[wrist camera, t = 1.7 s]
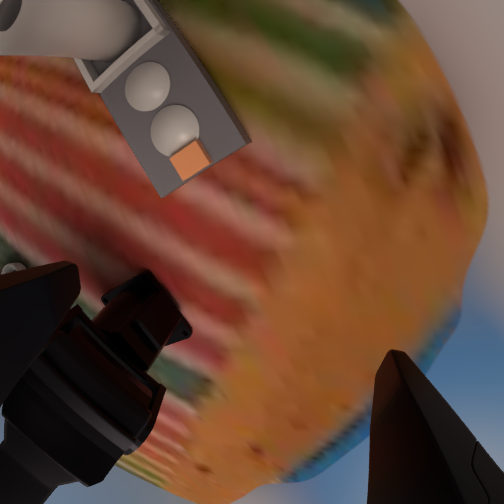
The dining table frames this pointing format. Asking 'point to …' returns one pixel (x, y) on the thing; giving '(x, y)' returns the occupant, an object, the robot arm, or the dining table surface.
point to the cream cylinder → (69, 28)
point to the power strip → (165, 103)
